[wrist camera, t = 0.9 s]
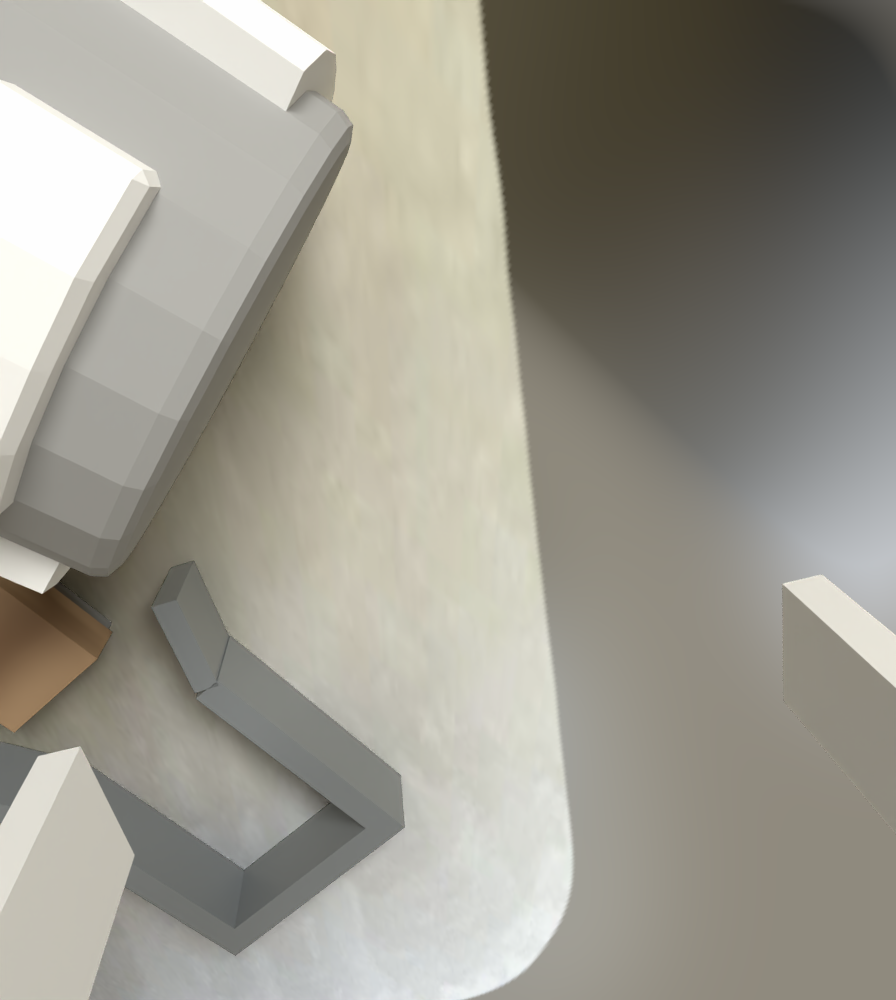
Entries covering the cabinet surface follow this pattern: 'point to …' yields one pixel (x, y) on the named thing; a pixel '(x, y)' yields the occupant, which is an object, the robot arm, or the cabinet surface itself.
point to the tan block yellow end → (43, 646)
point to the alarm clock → (139, 248)
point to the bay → (280, 733)
